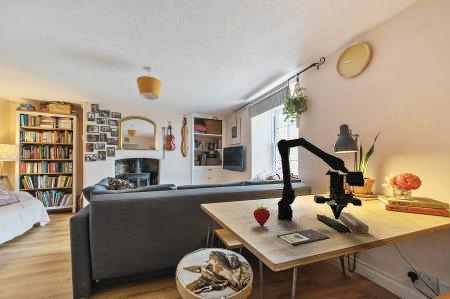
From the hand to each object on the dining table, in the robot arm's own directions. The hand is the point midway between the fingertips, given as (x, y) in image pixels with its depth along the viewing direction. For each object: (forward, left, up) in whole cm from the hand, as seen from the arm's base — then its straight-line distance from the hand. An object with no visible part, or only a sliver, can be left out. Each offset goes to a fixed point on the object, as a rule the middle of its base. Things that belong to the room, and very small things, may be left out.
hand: (336, 219), depth 94 cm
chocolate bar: (-17, -18, -4) cm, 25 cm away
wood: (-1, +2, -4) cm, 4 cm away
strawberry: (-33, -9, -3) cm, 35 cm away
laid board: (+7, +3, -3) cm, 8 cm away
